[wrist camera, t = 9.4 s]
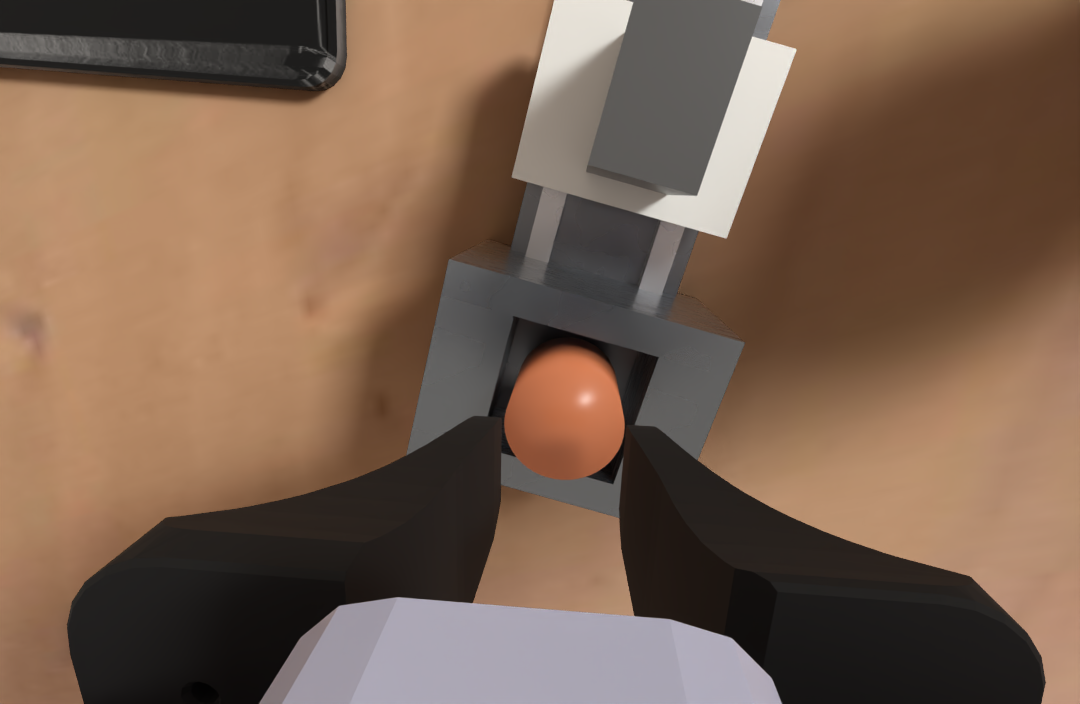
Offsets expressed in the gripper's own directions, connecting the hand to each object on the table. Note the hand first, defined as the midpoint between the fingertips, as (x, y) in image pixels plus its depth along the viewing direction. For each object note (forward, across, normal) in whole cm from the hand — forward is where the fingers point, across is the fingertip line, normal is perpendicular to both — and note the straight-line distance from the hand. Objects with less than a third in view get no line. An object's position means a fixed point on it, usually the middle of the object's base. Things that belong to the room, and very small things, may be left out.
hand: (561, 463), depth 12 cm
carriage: (+8, -2, -8) cm, 11 cm away
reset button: (+5, 0, 0) cm, 5 cm away
